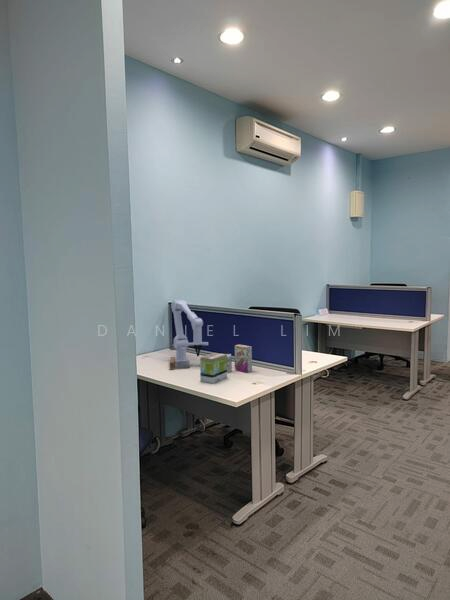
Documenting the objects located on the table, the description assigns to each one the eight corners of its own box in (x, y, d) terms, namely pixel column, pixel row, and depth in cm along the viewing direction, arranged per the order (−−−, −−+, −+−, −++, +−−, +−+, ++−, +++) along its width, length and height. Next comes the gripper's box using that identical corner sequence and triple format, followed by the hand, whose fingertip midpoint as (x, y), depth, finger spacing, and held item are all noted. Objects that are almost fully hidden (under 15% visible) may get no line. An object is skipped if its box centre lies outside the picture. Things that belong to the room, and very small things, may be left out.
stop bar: (171, 364, 275) (170, 357, 274) (175, 363, 275) (175, 356, 274) (169, 370, 259) (169, 362, 258) (174, 369, 259) (174, 362, 259)
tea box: (214, 383, 226) (213, 358, 225) (200, 381, 232) (199, 357, 230) (227, 377, 239) (227, 353, 238) (214, 375, 244) (213, 352, 243)
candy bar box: (234, 370, 256) (233, 345, 254) (239, 368, 259) (239, 344, 258) (247, 372, 248) (247, 347, 247) (252, 371, 252) (252, 346, 250)
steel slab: (175, 365, 271) (175, 361, 271) (189, 365, 272) (189, 361, 272) (174, 369, 261) (174, 365, 261) (189, 369, 262) (189, 364, 262)
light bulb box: (231, 369, 256) (231, 353, 256) (231, 372, 250) (230, 356, 249) (215, 369, 258) (215, 353, 257) (214, 372, 251) (214, 356, 250)
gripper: (186, 337, 262) (187, 357, 263) (208, 337, 263) (208, 356, 264) (186, 335, 269) (187, 355, 270) (208, 335, 270) (208, 354, 271)
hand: (197, 355), depth 268 cm, fingers closed
